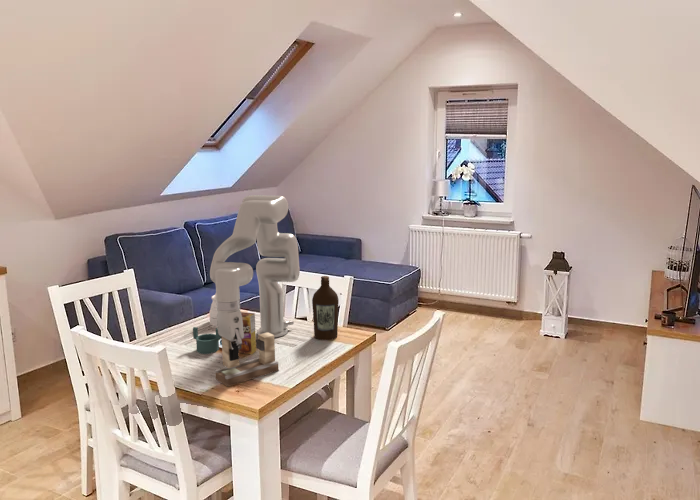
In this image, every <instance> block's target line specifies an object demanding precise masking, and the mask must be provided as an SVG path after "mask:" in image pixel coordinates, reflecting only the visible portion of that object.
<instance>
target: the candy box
mask: <svg viewBox="0 0 700 500" xmlns="http://www.w3.org/2000/svg"><path fill="white" fill-rule="evenodd" d="M241 315H242V321H243V331H244V338H243V339H241V340H242V343H241V345H242V349H239V354H245V355H246V354H247V355H253V354H254V353H256V352H257V348H256V340H257V338H256V337H257V336H256V313H255V312H244V311H243V312H242V311H241Z"/></svg>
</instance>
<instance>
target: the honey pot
mask: <svg viewBox="0 0 700 500" xmlns="http://www.w3.org/2000/svg"><path fill="white" fill-rule="evenodd" d="M214 284H215V285H216V283H214ZM211 300H212V302H211V305H210V310H209V312H208V313H209V325H210V326H213V327H216V328H217V313H218V311H217V300H216V293H215V294H214V295H211Z"/></svg>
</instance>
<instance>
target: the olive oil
mask: <svg viewBox="0 0 700 500" xmlns="http://www.w3.org/2000/svg"><path fill="white" fill-rule="evenodd" d="M339 303H340V302H339V296H338V294H337V292H336V291H335V290H334V289H333V288H332V287H331V286H330V276H328V275H323V276H321V277H320V286H319V288H318V289H317V290H315V292H314V293H313V296H312V299H311V304H312V305H311V306H312V316H313V333H314V334H313V337H314V338H315V339H316V340H319V341H330V340H332V341H333V340H334V339H337V337H338V332H339V331H338V327H339V326H338V324H339V322H338V321H339V317H338V316H339Z"/></svg>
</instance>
